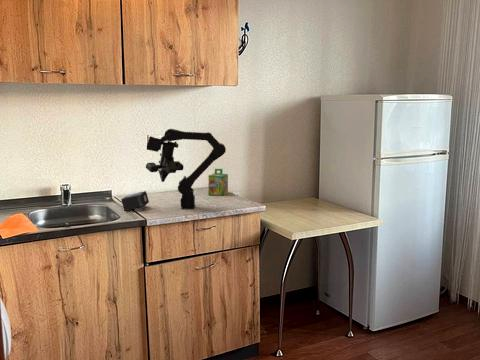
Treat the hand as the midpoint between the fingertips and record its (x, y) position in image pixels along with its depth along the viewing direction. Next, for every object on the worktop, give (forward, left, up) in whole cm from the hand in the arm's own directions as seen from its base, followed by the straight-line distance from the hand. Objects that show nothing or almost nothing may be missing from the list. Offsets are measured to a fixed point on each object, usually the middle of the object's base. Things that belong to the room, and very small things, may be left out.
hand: (162, 181), depth 238 cm
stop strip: (+11, +5, -13) cm, 17 cm away
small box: (+8, +5, -8) cm, 12 cm away
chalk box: (-26, -31, -13) cm, 43 cm away
